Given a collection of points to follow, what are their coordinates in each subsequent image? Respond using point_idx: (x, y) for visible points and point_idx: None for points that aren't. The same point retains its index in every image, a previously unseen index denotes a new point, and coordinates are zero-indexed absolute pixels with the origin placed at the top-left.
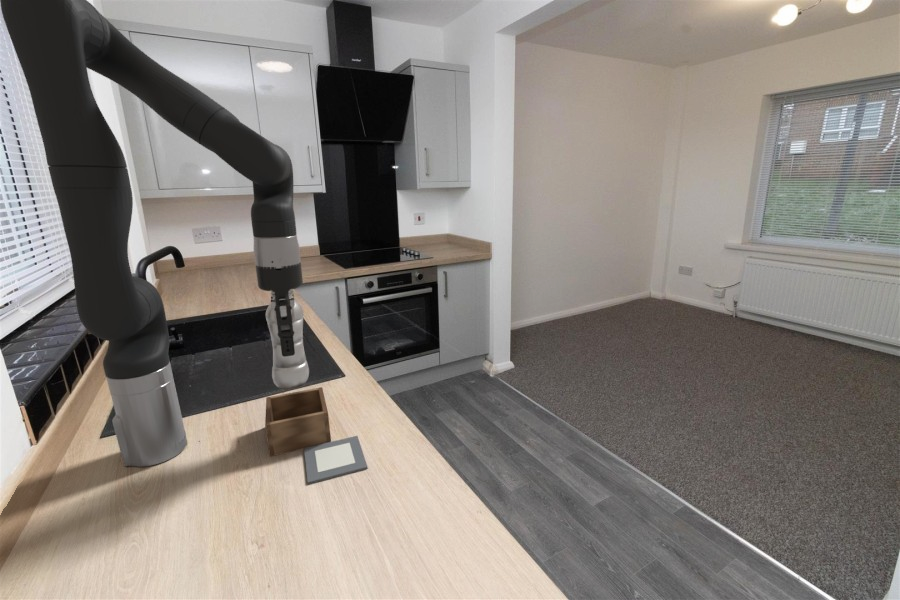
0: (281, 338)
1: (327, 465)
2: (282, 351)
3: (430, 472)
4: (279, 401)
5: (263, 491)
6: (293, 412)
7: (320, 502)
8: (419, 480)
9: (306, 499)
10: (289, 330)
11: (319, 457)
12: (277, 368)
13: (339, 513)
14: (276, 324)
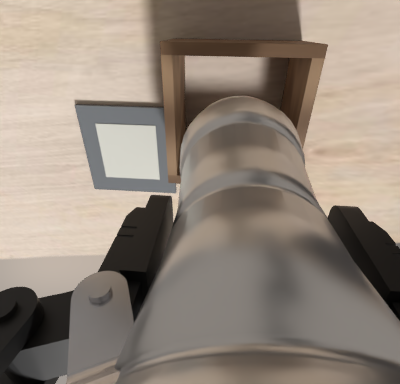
0: (124, 270)
1: (108, 139)
2: (146, 210)
3: (74, 243)
4: (302, 80)
5: (71, 25)
6: (288, 103)
7: (35, 117)
8: (62, 230)
9: (43, 98)
10: (9, 379)
11: (134, 130)
12: (202, 136)
13: (13, 137)
14: (101, 374)
